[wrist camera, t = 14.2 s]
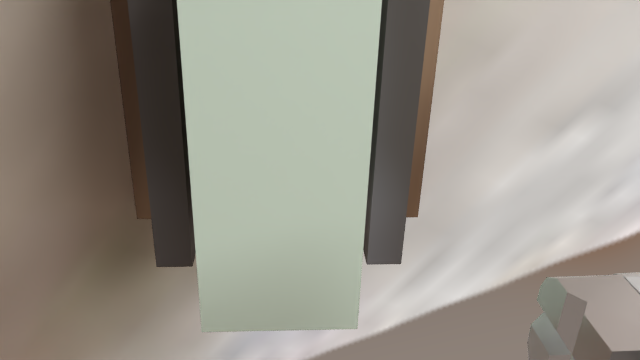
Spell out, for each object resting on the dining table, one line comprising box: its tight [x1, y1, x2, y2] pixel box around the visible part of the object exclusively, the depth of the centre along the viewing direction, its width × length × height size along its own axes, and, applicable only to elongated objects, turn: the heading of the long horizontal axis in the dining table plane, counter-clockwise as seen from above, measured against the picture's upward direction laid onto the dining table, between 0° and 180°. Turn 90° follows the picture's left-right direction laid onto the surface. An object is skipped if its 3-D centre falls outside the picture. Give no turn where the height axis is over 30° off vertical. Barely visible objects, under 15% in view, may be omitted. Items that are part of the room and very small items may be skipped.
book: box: [177, 0, 382, 332], centre depth 18 cm, size 4×9×10 cm, turn 178°
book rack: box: [110, 0, 444, 267], centre depth 20 cm, size 12×14×6 cm
